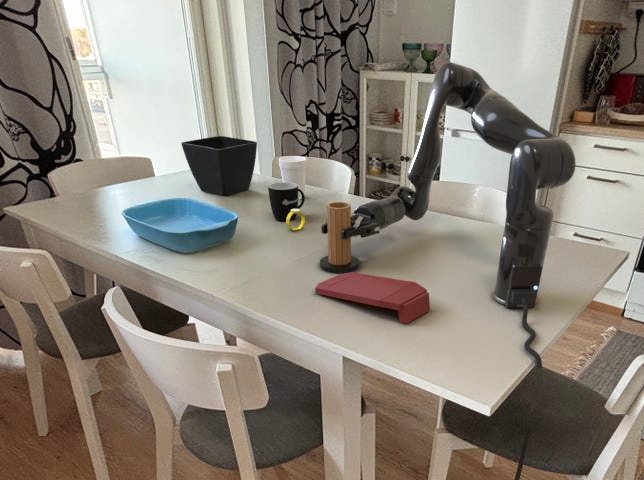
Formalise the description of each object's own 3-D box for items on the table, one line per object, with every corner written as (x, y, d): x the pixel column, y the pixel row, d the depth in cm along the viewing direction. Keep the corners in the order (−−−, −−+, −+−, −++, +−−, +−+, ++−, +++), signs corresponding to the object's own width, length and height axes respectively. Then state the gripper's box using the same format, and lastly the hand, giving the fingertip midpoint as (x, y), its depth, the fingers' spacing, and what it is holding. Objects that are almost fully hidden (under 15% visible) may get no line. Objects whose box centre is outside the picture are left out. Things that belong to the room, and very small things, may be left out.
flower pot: (262, 188, 193) (258, 140, 184) (225, 200, 179) (219, 148, 170) (226, 181, 201) (219, 135, 192) (188, 192, 188) (179, 142, 179)
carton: (314, 307, 119) (400, 327, 103) (310, 286, 116) (399, 303, 101) (349, 290, 126) (435, 306, 111) (347, 271, 124) (434, 284, 109)
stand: (360, 273, 127) (360, 224, 120) (319, 273, 126) (317, 224, 120) (359, 258, 135) (359, 211, 129) (320, 258, 135) (318, 211, 128)
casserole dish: (113, 232, 150) (107, 207, 146) (181, 215, 164) (177, 192, 161) (185, 264, 130) (180, 236, 126) (256, 242, 144) (253, 216, 140)
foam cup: (278, 195, 186) (275, 157, 179) (303, 192, 189) (301, 155, 182) (286, 202, 179) (283, 162, 172) (311, 199, 182) (310, 160, 175)
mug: (281, 224, 158) (278, 190, 152) (265, 217, 163) (262, 185, 158) (313, 217, 164) (311, 184, 159) (296, 211, 170) (295, 179, 165)
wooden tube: (351, 265, 128) (350, 208, 120) (328, 265, 128) (326, 208, 120) (350, 256, 133) (350, 201, 125) (328, 256, 132) (327, 201, 125)
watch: (290, 233, 151) (289, 213, 148) (285, 231, 153) (283, 210, 150) (307, 228, 155) (306, 208, 152) (301, 226, 156) (300, 206, 153)
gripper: (353, 197, 137) (309, 211, 126) (397, 207, 130) (355, 223, 118) (353, 224, 141) (311, 241, 130) (396, 236, 134) (355, 254, 123)
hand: (332, 232), depth 124 cm, fingers closed on wooden tube, 5 cm apart
